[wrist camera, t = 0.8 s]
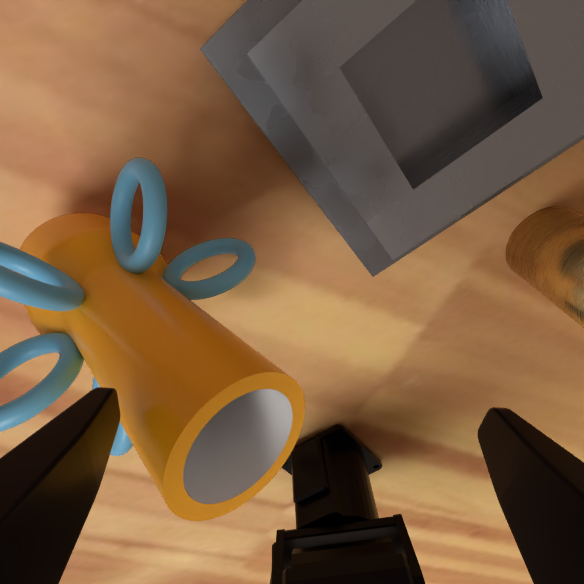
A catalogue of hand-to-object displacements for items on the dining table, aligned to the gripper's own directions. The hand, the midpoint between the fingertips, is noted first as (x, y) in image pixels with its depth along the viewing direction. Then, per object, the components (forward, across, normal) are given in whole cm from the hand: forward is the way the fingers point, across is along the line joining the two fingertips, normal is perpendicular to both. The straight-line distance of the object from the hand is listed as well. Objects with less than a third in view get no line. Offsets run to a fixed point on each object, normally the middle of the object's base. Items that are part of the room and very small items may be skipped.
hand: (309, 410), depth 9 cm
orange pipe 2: (+12, +11, +3) cm, 16 cm away
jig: (+13, -5, -8) cm, 16 cm away
